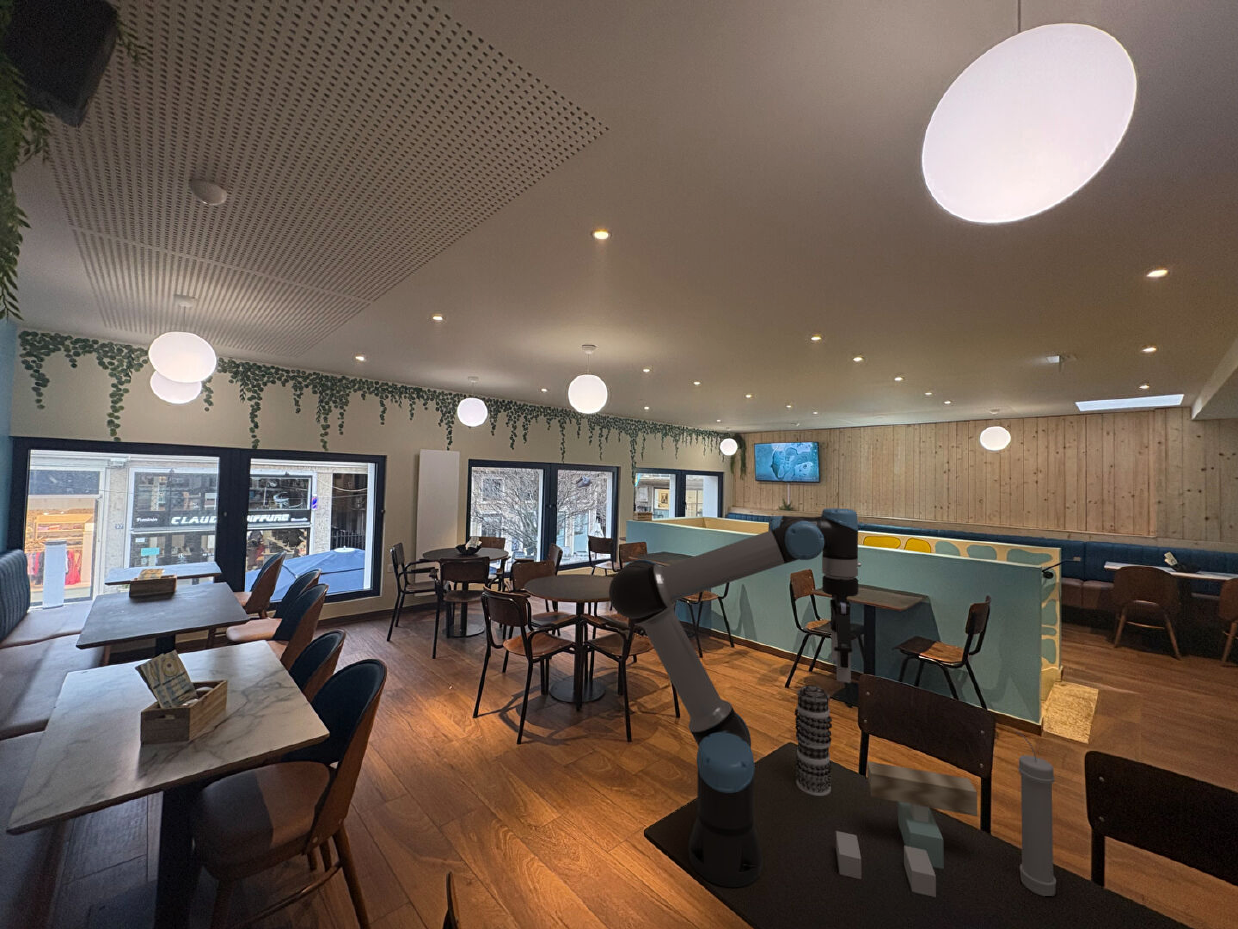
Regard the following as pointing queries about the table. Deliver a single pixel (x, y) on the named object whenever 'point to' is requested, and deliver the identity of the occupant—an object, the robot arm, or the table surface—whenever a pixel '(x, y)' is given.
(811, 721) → the studded grey cylinder
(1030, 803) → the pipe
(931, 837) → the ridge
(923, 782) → the wooden block
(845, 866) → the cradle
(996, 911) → the table surface
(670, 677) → the robot arm
